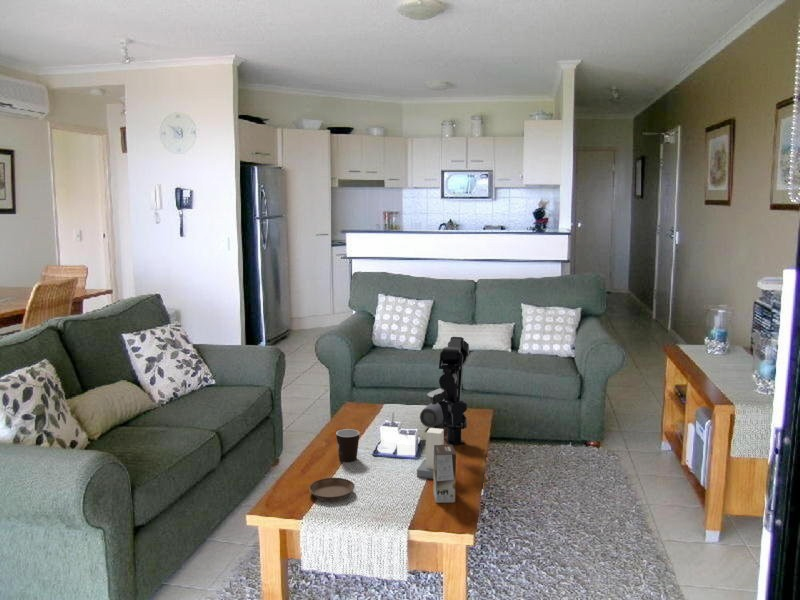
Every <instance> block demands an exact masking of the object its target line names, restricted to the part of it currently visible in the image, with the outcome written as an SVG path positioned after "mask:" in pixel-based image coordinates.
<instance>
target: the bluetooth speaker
mask: <svg viewBox="0 0 800 600" xmlns="http://www.w3.org/2000/svg"><path fill="white" fill-rule="evenodd" d="M419 414H420V415H419V420H420V422H421V424H422V425H423V426H425V427H426V428H435V427H438V426H440V425H443V415H442V412H441V408H440V405H439V404H438V403H437V404H434V405H433V404H432V403H431V402H429V404H428V405H426V407H424V408H423V409H422V410H421V412H420V413H419Z"/></svg>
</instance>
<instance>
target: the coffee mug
mask: <svg viewBox="0 0 800 600" xmlns="http://www.w3.org/2000/svg"><path fill="white" fill-rule="evenodd" d="M335 434H336V435H335V436H336V444H337V451H338V459H339V461H340V462H341V463H342V462H343V463H353V462H355V461H357V457H358V450H359V441H360V434H361V433H360V431H359V430H357V429H354V428H353V429H351V428H345V429H340V430H337V431H336V433H335Z"/></svg>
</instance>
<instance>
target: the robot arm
mask: <svg viewBox="0 0 800 600" xmlns="http://www.w3.org/2000/svg"><path fill="white" fill-rule="evenodd" d="M464 339H465V338H464V337H462V336H452V337H450V341H448V342H447V346H445V347H444V348H442V349H441V350H442V351H440V354H439V361H438V363H439V364H438V369H439V370H442V373H441V376H439V380H438V384H439V388H437V389H434V390H431V391H429V392H427V394H426V395H427V398H428V401H429V403H432V404H433V405H434V404H437V403H438V404H439V405H440V408H441V412H442V415H443V423H442V426H443V427H442V429H445V428H446V430H447V431H446V436H447V437H445V438H444V442H446V443H447V445H452V446H453V445H460V444H465V441H464V440H463V439H462V435H463V433H462V432H463V431H462V430H465V429H467V426H468V425H467V424H468V420H467V417H466V413H465V412H466V411H468V404H467V403H466V402H464V401H463V400H461V399H462V383H463V372H464V371H463V370H464V369H463V368H464V367H465V365H466V364H467V362H468V358H469V357H470V344H469V343H468V342H467V341H466V340H464Z"/></svg>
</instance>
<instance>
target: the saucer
mask: <svg viewBox="0 0 800 600" xmlns="http://www.w3.org/2000/svg"><path fill="white" fill-rule="evenodd" d="M355 487H356V486H355V483H354V482H353V481H351V480H350V479H347V478H342V477H327V478H321V479H318V480H316V481H314V482H312V483H311V484H310V485H309V488H308V490H309V492H310V493H311V494H312V496H314V497H315V498H316V499H318V500H321V501H325V502H335V501H340V500H341V501H342V500H344V499H346V498H347V497H349V496H350V495H351V493H353V491H354V489H355Z"/></svg>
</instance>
